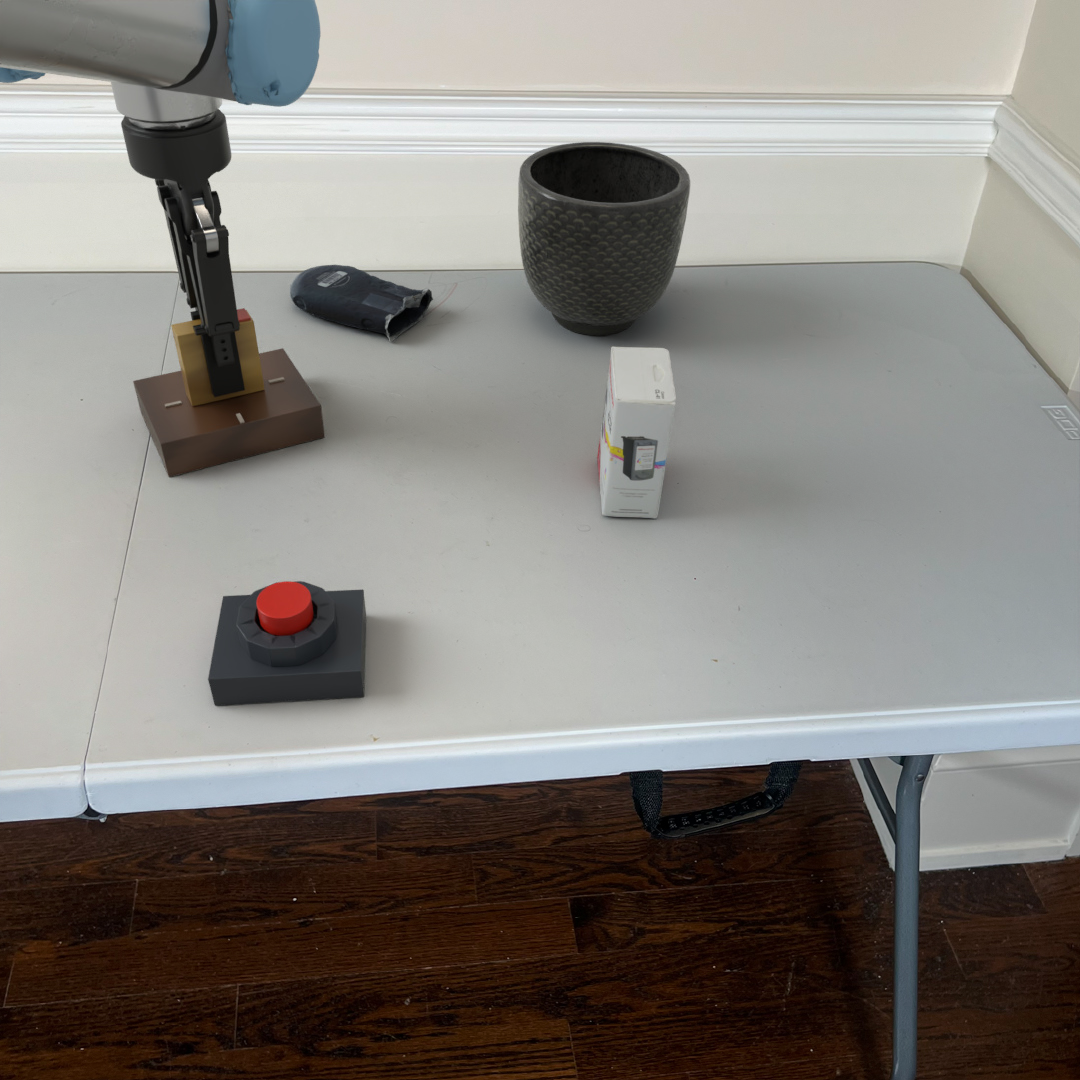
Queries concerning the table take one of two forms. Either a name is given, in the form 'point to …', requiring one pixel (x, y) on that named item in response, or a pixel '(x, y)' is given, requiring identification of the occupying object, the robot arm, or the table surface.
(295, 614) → the button
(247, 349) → the thumb turn
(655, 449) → the ink box
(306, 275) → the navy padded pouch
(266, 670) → the grey square base
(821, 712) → the table surface
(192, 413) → the plate
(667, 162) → the planter
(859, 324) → the table surface
